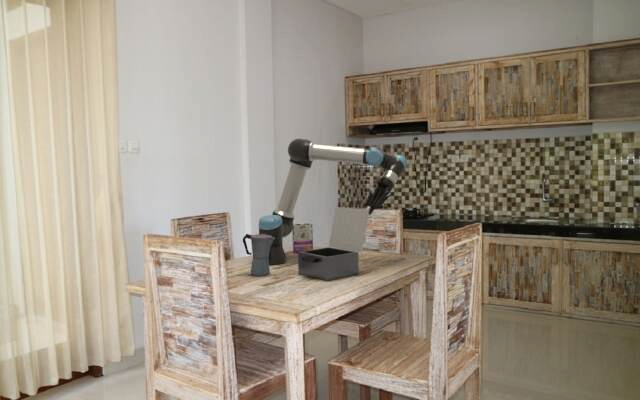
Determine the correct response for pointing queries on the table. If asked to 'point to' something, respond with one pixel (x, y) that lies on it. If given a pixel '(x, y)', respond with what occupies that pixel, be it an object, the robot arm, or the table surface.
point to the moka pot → (259, 253)
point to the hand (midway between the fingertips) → (363, 218)
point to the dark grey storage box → (328, 263)
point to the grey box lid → (349, 228)
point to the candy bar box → (302, 237)
